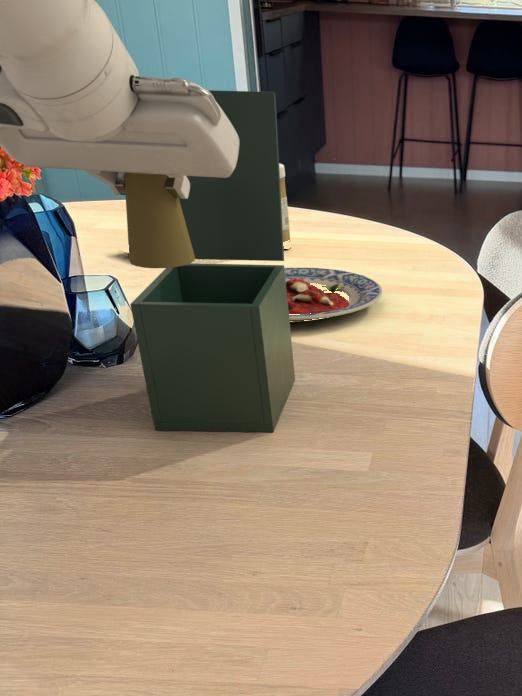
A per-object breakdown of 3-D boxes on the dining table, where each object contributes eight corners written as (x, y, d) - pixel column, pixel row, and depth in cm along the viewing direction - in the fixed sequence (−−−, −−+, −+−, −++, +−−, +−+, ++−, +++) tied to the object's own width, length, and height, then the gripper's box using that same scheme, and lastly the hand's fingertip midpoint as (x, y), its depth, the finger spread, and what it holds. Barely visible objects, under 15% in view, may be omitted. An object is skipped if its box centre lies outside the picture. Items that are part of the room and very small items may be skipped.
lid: (274, 91, 99) (275, 93, 100) (153, 88, 99) (155, 90, 99) (283, 260, 105) (284, 261, 106) (169, 258, 105) (171, 258, 105)
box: (273, 432, 101) (259, 306, 93) (154, 430, 100) (130, 304, 92) (295, 379, 113) (284, 265, 106) (189, 377, 113) (170, 262, 105)
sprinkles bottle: (274, 244, 167) (266, 161, 159) (296, 246, 166) (289, 163, 158) (260, 249, 164) (251, 165, 156) (283, 252, 163) (275, 167, 155)
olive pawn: (115, 260, 88) (90, 129, 82) (166, 249, 92) (146, 123, 86) (158, 271, 85) (134, 137, 79) (208, 259, 89) (190, 129, 83)
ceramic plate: (226, 342, 124) (223, 320, 122) (191, 290, 143) (188, 270, 141) (407, 322, 133) (407, 300, 131) (352, 275, 151) (351, 256, 150)
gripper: (211, 45, 72) (267, 165, 85) (-36, 36, 74) (58, 154, 87) (197, 119, 71) (256, 228, 84) (-52, 107, 73) (45, 215, 86)
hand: (153, 190), depth 86 cm, fingers closed on olive pawn, 4 cm apart
